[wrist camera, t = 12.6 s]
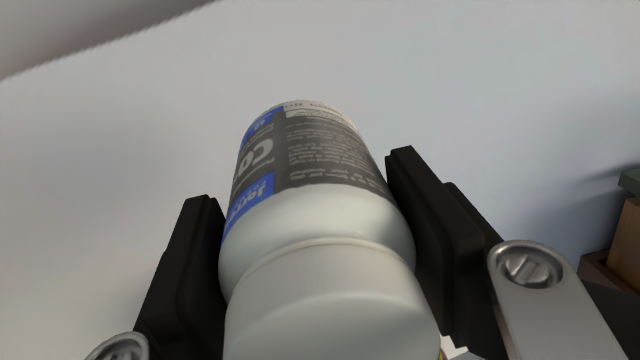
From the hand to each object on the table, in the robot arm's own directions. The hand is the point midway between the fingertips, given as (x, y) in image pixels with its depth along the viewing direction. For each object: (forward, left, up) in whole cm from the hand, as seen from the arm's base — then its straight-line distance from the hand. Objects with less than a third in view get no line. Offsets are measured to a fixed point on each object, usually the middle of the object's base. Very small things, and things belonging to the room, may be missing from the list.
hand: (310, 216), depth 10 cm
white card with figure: (+4, +29, -12) cm, 31 cm away
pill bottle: (0, 0, -4) cm, 4 cm away
